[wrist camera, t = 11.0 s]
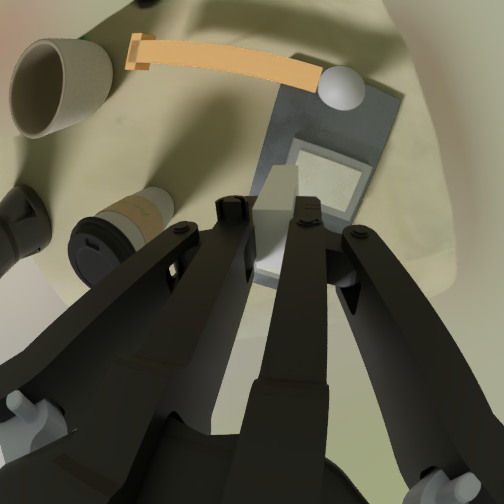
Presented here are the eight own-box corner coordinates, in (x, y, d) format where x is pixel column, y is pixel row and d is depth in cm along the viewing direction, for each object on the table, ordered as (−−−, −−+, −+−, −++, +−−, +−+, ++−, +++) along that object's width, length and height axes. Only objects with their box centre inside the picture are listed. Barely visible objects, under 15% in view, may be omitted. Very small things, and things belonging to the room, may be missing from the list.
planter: (139, 77, 28) (82, 81, 19) (87, 136, 33) (34, 159, 24) (97, 24, 23) (41, 20, 14) (53, 85, 28) (0, 97, 19)
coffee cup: (175, 167, 34) (106, 219, 22) (194, 231, 39) (146, 302, 26) (121, 182, 36) (50, 232, 24) (142, 237, 41) (87, 300, 29)
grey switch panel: (229, 270, 41) (221, 290, 38) (289, 58, 24) (286, 52, 21) (312, 295, 41) (312, 317, 37) (398, 99, 24) (412, 102, 21)
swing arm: (363, 77, 20) (370, 76, 18) (351, 114, 23) (357, 117, 20) (146, 36, 21) (131, 33, 18) (139, 69, 23) (124, 69, 20)
